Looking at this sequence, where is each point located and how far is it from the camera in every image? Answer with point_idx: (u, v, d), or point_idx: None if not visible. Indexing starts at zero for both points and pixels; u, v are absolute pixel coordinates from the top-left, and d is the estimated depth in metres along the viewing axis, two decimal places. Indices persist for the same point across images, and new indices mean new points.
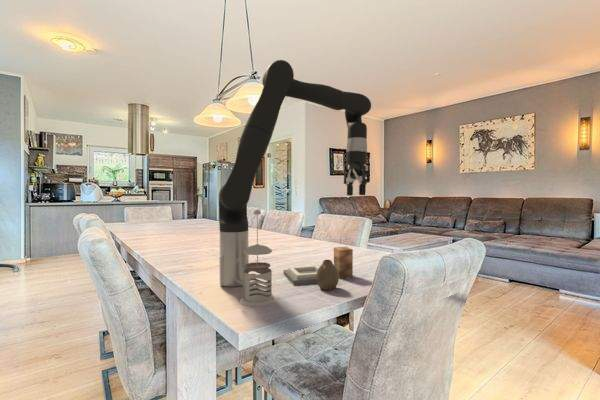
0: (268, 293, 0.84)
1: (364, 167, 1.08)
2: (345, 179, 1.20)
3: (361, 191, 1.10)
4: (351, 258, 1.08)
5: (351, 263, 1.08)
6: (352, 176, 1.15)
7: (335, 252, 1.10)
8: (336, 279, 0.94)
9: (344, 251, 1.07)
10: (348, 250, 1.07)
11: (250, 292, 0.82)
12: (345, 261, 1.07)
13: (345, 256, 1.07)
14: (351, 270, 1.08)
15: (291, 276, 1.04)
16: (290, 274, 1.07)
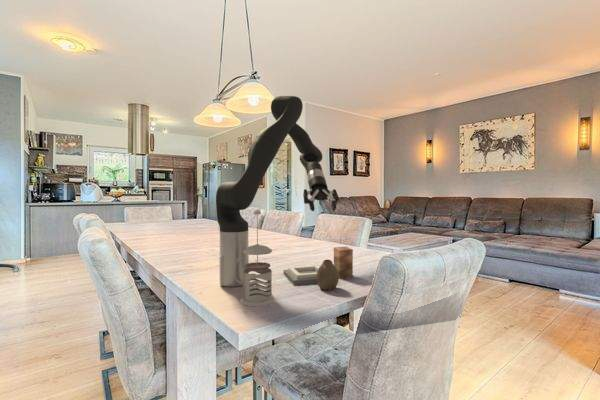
0: (268, 293, 0.84)
1: (335, 191, 1.30)
2: (307, 196, 1.25)
3: (335, 206, 1.24)
4: (351, 258, 1.08)
5: (351, 263, 1.08)
6: (319, 195, 1.27)
7: (335, 252, 1.10)
8: (336, 279, 0.94)
9: (344, 251, 1.07)
10: (348, 250, 1.07)
11: (250, 292, 0.82)
12: (345, 261, 1.07)
13: (345, 256, 1.07)
14: (351, 270, 1.08)
15: (291, 276, 1.04)
16: (290, 274, 1.07)
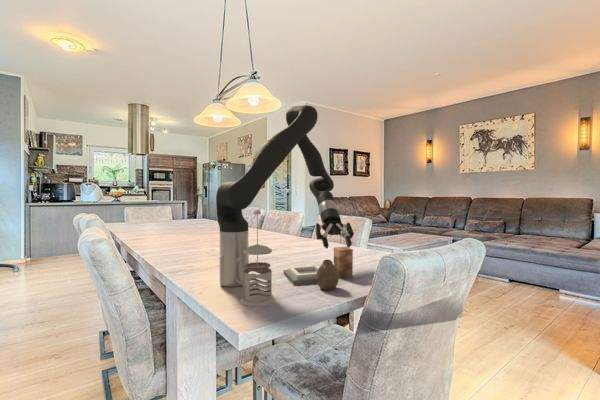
0: (268, 293, 0.84)
1: (349, 224, 1.22)
2: (320, 232, 1.17)
3: (350, 242, 1.16)
4: (351, 258, 1.08)
5: (351, 263, 1.08)
6: (332, 230, 1.18)
7: (335, 252, 1.10)
8: (336, 279, 0.94)
9: (344, 251, 1.07)
10: (348, 250, 1.07)
11: (250, 292, 0.82)
12: (345, 261, 1.07)
13: (345, 256, 1.07)
14: (351, 270, 1.08)
15: (291, 276, 1.04)
16: (290, 274, 1.07)
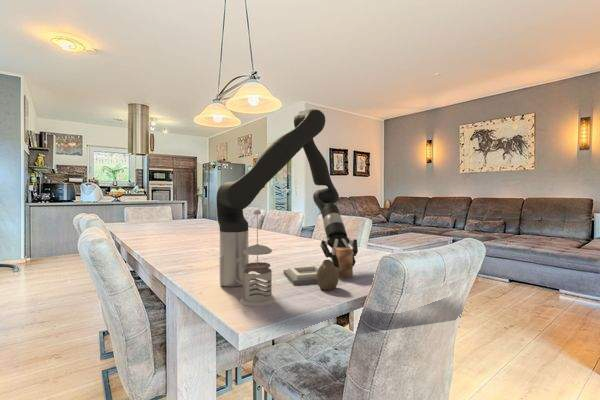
0: (268, 293, 0.84)
1: (356, 241, 1.15)
2: (328, 249, 1.10)
3: (354, 261, 1.09)
4: (351, 258, 1.08)
5: (351, 263, 1.08)
6: (339, 245, 1.12)
7: None
8: (336, 279, 0.94)
9: (344, 251, 1.07)
10: (348, 250, 1.07)
11: (250, 292, 0.82)
12: (345, 261, 1.07)
13: (345, 256, 1.07)
14: (351, 270, 1.08)
15: (291, 276, 1.04)
16: (290, 274, 1.07)
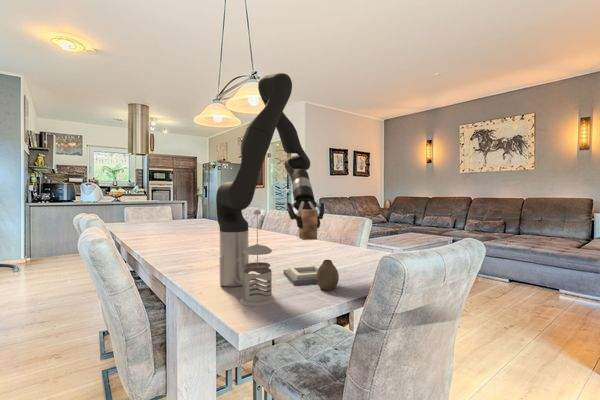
0: (268, 293, 0.84)
1: (323, 205, 1.12)
2: (293, 211, 1.08)
3: (319, 222, 1.07)
4: (316, 219, 1.05)
5: (316, 224, 1.05)
6: (305, 207, 1.10)
7: None
8: (336, 279, 0.94)
9: (308, 212, 1.05)
10: (312, 210, 1.05)
11: (250, 292, 0.82)
12: (309, 222, 1.05)
13: (309, 217, 1.05)
14: (315, 231, 1.06)
15: (291, 276, 1.04)
16: (290, 274, 1.07)
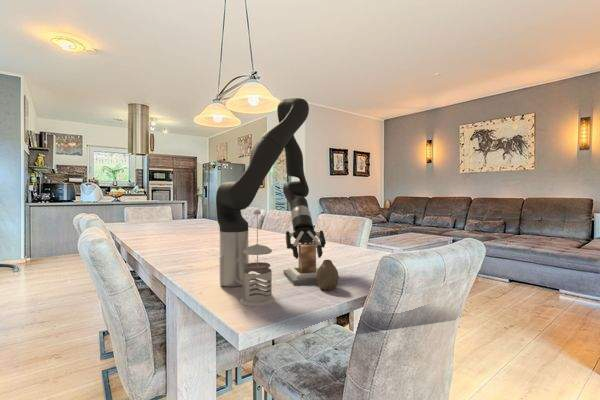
0: (268, 293, 0.84)
1: (322, 232, 1.14)
2: (290, 240, 1.09)
3: (321, 252, 1.08)
4: (314, 255, 1.06)
5: (314, 260, 1.06)
6: (304, 238, 1.10)
7: (299, 248, 1.08)
8: (336, 279, 0.94)
9: (307, 247, 1.05)
10: (311, 246, 1.06)
11: (250, 292, 0.82)
12: (308, 258, 1.05)
13: (308, 252, 1.05)
14: (314, 267, 1.06)
15: (291, 276, 1.04)
16: (290, 274, 1.07)
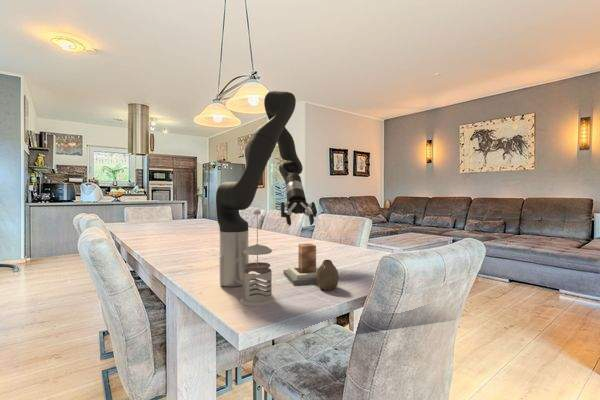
0: (268, 293, 0.84)
1: None
2: (284, 210, 1.21)
3: (313, 220, 1.20)
4: (314, 255, 1.06)
5: (314, 260, 1.06)
6: (296, 208, 1.23)
7: (299, 248, 1.08)
8: (336, 279, 0.94)
9: (307, 247, 1.05)
10: (311, 246, 1.06)
11: (250, 292, 0.82)
12: (308, 258, 1.05)
13: (308, 252, 1.05)
14: (314, 267, 1.06)
15: (291, 276, 1.04)
16: (290, 274, 1.07)
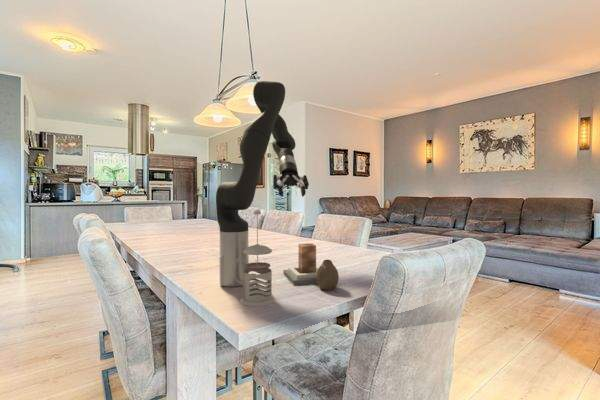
0: (268, 293, 0.84)
1: (306, 177, 1.29)
2: (276, 182, 1.24)
3: (304, 191, 1.23)
4: (314, 255, 1.06)
5: (314, 260, 1.06)
6: (288, 180, 1.26)
7: (299, 248, 1.08)
8: (336, 279, 0.94)
9: (307, 247, 1.05)
10: (311, 246, 1.06)
11: (250, 292, 0.82)
12: (308, 258, 1.05)
13: (308, 252, 1.05)
14: (314, 267, 1.06)
15: (291, 276, 1.04)
16: (290, 274, 1.07)
